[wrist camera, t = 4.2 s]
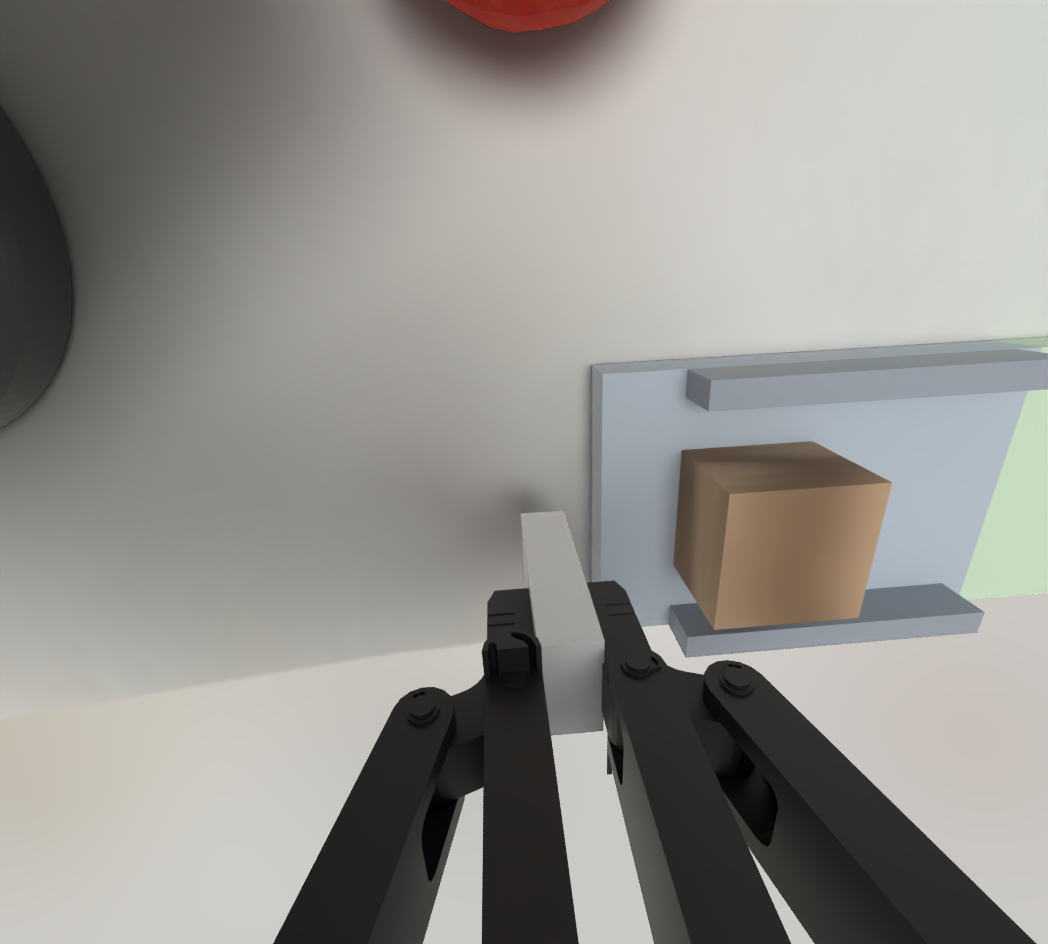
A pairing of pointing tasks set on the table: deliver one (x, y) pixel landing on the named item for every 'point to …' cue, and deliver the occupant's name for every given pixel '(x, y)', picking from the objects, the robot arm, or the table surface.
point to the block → (776, 533)
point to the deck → (858, 435)
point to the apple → (527, 12)
